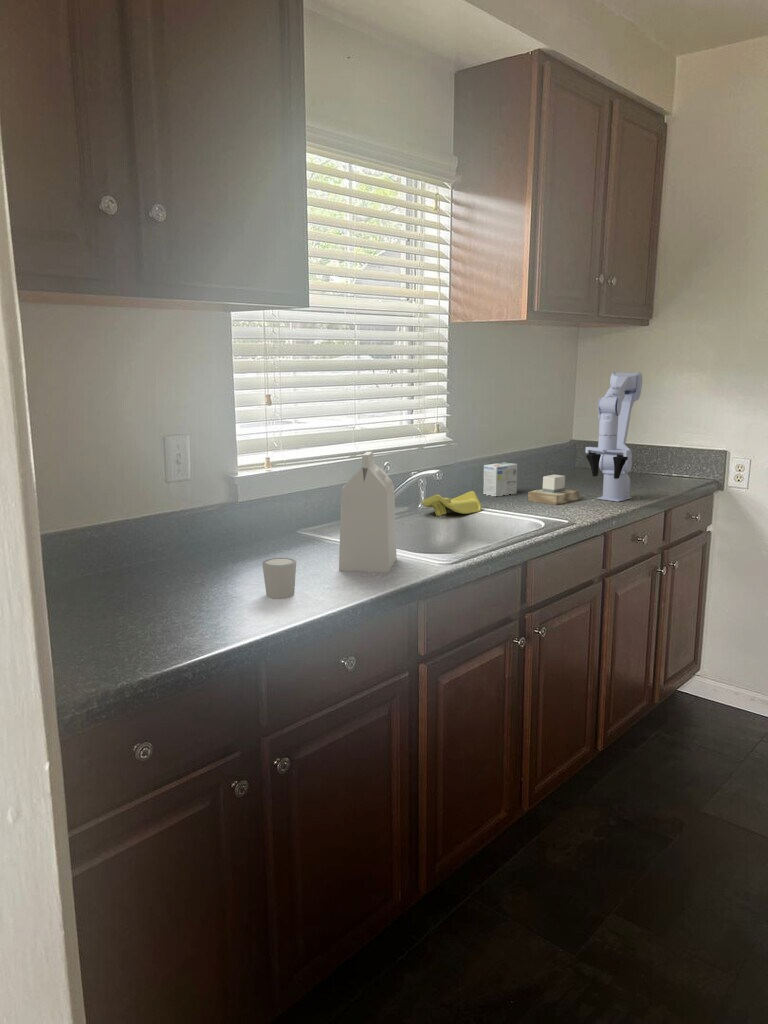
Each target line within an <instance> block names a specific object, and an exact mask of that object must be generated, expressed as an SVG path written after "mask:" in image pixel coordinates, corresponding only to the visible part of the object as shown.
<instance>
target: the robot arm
mask: <svg viewBox="0 0 768 1024" xmlns="http://www.w3.org/2000/svg"><path fill="white" fill-rule="evenodd" d="M642 387H643V374H642V372H640V371H639V372H616V371H615V372H612V373H611V375H610V380H609V388H608V389H607V391H606V393H605V395H604V396H602V397H600V398H598V403H597V414H598V415H597V418H598V421H599V422H598V423H599V424H598V425H599V426H598V443H597V446H596V447H595V446H586V447H585V454H586V457H585V458H586V459H587V461H588V463H589V465H590V469H591V473H592V477H598V476H599V470H600V471H601V472H602V474H603V481H602V482H603V484H602V496H599V497H597V500H602V501H611V502H622V501H626V500H629V499H632V496H630V494H631V493H630V492H631V491H630V490H631V477H630V475H629V474H628V473H629V472H630V471H631V470H632V464H633V452H632V450H631V448H629V447H628V446H627V445H626V443H627V437H628V433H629V425H630V420H631V413H632V411H633V410H632V409H633V407H634V403H635V402H637V401H638V400H640V397H641V393H642Z"/></svg>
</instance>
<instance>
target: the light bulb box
mask: <svg viewBox="0 0 768 1024" xmlns="http://www.w3.org/2000/svg"><path fill="white" fill-rule="evenodd" d="M517 485H518V464H517V463H511V462H505V461H504V462H498V463H491V464H489V463H488V464H484V465H483V488H482V490H483V494H486V495H485V496H488V495H491V496H490V497H493V496H498V497H504V496H503V495H505V496H509V494H511V495H516V494H517V491H518V490H517V489H518V487H517Z"/></svg>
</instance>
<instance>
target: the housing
mask: <svg viewBox="0 0 768 1024" xmlns="http://www.w3.org/2000/svg"><path fill="white" fill-rule="evenodd" d="M565 485H566V475H560V474H551V475H550V474H548V475H545V476H543V477H542V488H541V489H542V491H543V492H550V493H556V492H560V491H565V489H566V486H565Z"/></svg>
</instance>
